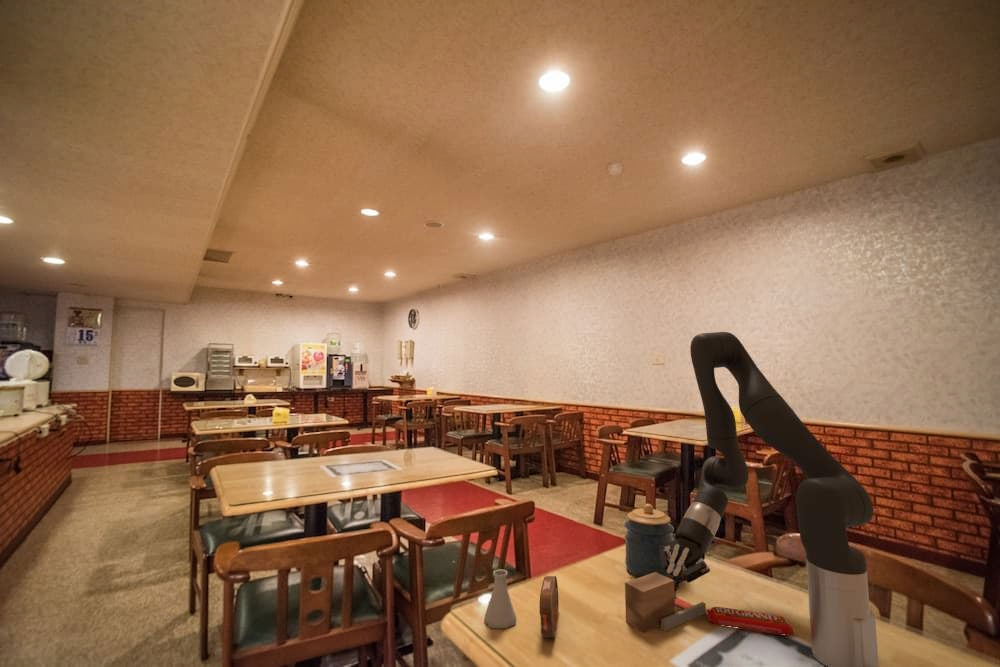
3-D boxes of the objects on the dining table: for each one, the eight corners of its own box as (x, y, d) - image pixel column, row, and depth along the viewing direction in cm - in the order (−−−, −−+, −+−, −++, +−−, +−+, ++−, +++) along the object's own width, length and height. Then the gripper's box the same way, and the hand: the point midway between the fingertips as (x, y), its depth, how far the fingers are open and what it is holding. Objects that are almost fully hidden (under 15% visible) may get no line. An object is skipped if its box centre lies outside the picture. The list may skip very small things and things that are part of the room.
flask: (488, 632, 92) (488, 581, 93) (480, 614, 99) (480, 567, 100) (521, 627, 94) (521, 577, 95) (511, 609, 101) (511, 563, 102)
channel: (705, 612, 100) (705, 603, 100) (664, 631, 93) (664, 620, 93) (673, 596, 107) (672, 587, 108) (632, 612, 100) (632, 603, 100)
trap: (700, 610, 101) (700, 608, 101) (692, 614, 99) (692, 612, 99) (676, 598, 106) (676, 597, 106) (668, 602, 105) (668, 600, 105)
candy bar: (708, 626, 95) (708, 611, 96) (706, 617, 99) (705, 603, 99) (795, 639, 90) (794, 624, 91) (789, 629, 94) (788, 614, 94)
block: (675, 618, 98) (674, 580, 98) (644, 632, 92) (643, 591, 93) (656, 608, 102) (655, 572, 103) (625, 621, 96) (624, 582, 97)
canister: (642, 557, 131) (641, 495, 133) (684, 572, 121) (682, 504, 123) (615, 569, 123) (614, 503, 124) (658, 586, 113) (656, 514, 114)
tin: (554, 647, 87) (553, 601, 88) (538, 645, 88) (537, 600, 89) (559, 608, 102) (559, 569, 103) (545, 606, 103) (545, 568, 103)
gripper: (667, 510, 112) (635, 572, 105) (716, 525, 101) (684, 595, 94) (682, 528, 115) (651, 590, 107) (731, 544, 103) (700, 615, 96)
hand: (666, 592), depth 100 cm, fingers closed
